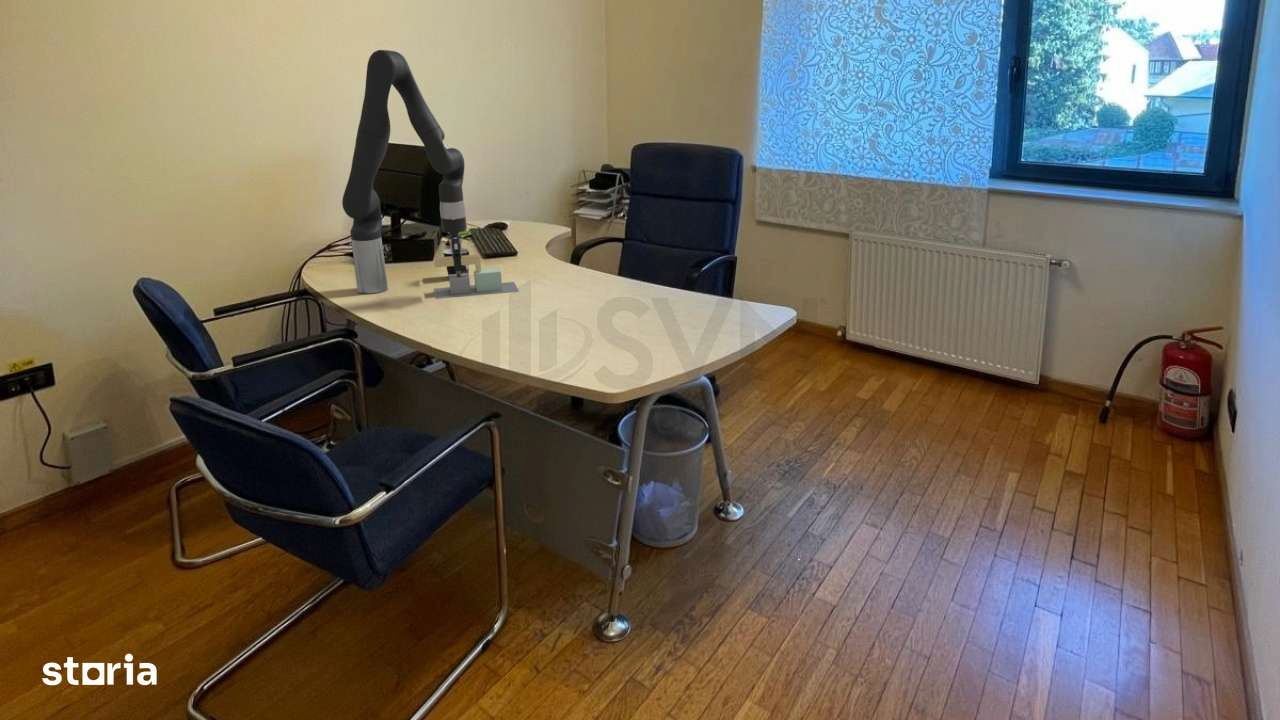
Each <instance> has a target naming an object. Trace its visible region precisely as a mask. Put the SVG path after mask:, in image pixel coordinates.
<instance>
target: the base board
mask: <svg viewBox="0 0 1280 720" xmlns="http://www.w3.org/2000/svg"><path fill="white" fill-rule="evenodd" d="M448 282H449V286H447V287H438V288H433V293H434V299H435V300H439V299H449V298H450V299H451V298H463V297H473V296H475V297H476V296H485V295H496V294H497V295H498V294H509V293H519V292H520V291H519V288H518V286H517V284H516V283H515V281H508V282H502V290H496V291H484V292H477V291H476V288H475V284H473V285H471V284H470V283H471V282H470V276H468V273H463V274H461V276H457V275H456V274H450V275H449V276H448Z"/></svg>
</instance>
